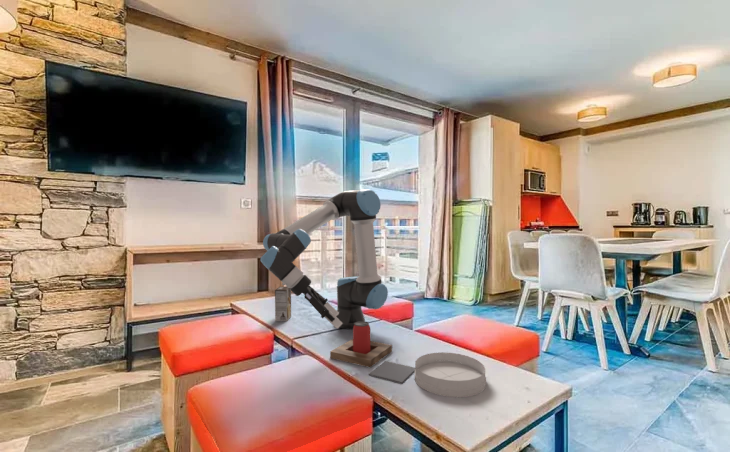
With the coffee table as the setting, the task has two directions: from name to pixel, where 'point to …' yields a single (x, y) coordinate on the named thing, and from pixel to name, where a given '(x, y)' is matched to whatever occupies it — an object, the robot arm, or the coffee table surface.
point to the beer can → (361, 337)
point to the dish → (450, 374)
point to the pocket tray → (368, 360)
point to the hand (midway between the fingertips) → (338, 320)
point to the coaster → (392, 372)
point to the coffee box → (282, 304)
